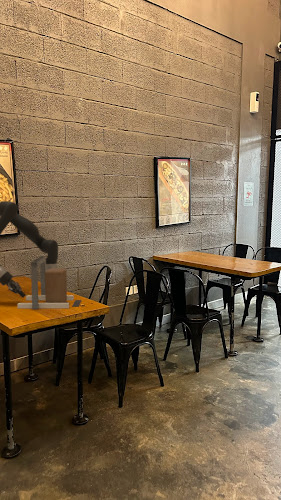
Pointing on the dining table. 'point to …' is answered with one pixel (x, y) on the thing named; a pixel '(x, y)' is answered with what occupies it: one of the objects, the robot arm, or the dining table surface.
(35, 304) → the arch
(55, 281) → the wooden block
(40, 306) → the walled lane
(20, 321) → the dining table surface
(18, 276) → the dining table surface
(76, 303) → the pad
